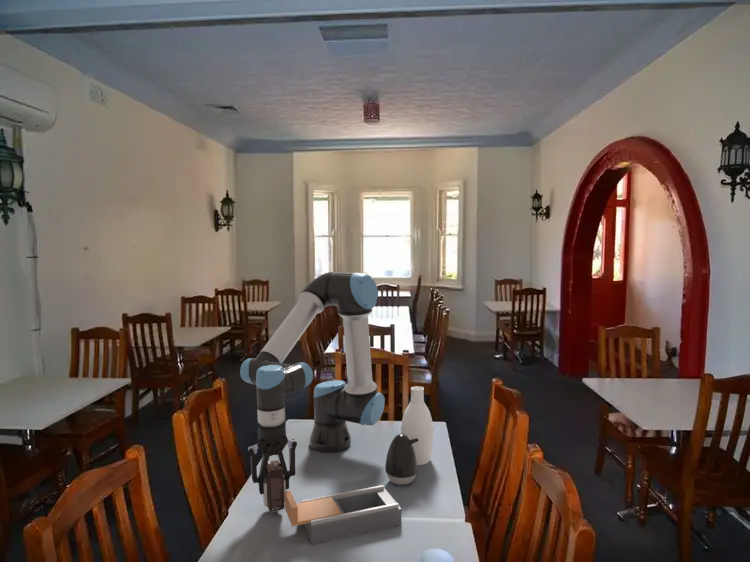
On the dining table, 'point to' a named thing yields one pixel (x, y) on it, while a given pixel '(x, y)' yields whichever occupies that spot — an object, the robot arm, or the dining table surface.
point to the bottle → (418, 425)
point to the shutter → (309, 509)
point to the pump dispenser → (401, 460)
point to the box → (275, 486)
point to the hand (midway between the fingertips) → (274, 501)
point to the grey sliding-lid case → (356, 514)
